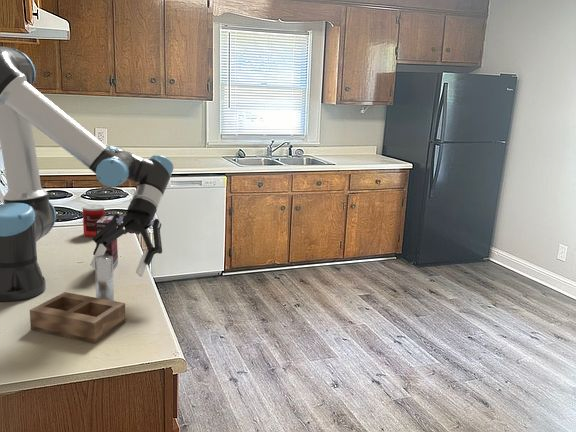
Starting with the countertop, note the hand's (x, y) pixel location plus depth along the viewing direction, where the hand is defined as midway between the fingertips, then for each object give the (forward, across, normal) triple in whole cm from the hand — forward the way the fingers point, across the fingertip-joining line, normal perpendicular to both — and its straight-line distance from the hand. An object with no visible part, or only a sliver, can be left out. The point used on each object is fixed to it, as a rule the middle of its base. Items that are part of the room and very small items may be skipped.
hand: (115, 270), depth 138 cm
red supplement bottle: (-29, +43, -42) cm, 67 cm away
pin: (+8, +2, -4) cm, 9 cm away
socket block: (+17, 0, +5) cm, 18 cm away
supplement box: (-9, +17, -21) cm, 29 cm away
